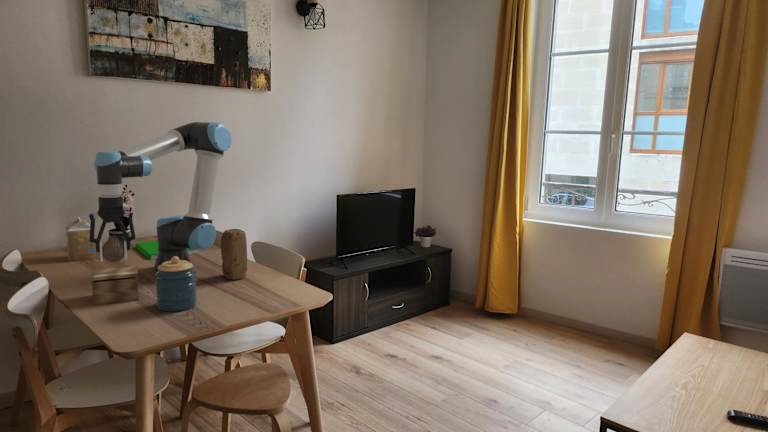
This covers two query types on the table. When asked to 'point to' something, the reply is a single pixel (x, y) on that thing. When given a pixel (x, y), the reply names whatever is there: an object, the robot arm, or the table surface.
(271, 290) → the table surface
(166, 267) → the canister
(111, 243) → the vase
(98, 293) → the keepsake box
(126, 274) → the lid
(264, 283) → the table surface
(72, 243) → the tan lidded jar
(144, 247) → the book
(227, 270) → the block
